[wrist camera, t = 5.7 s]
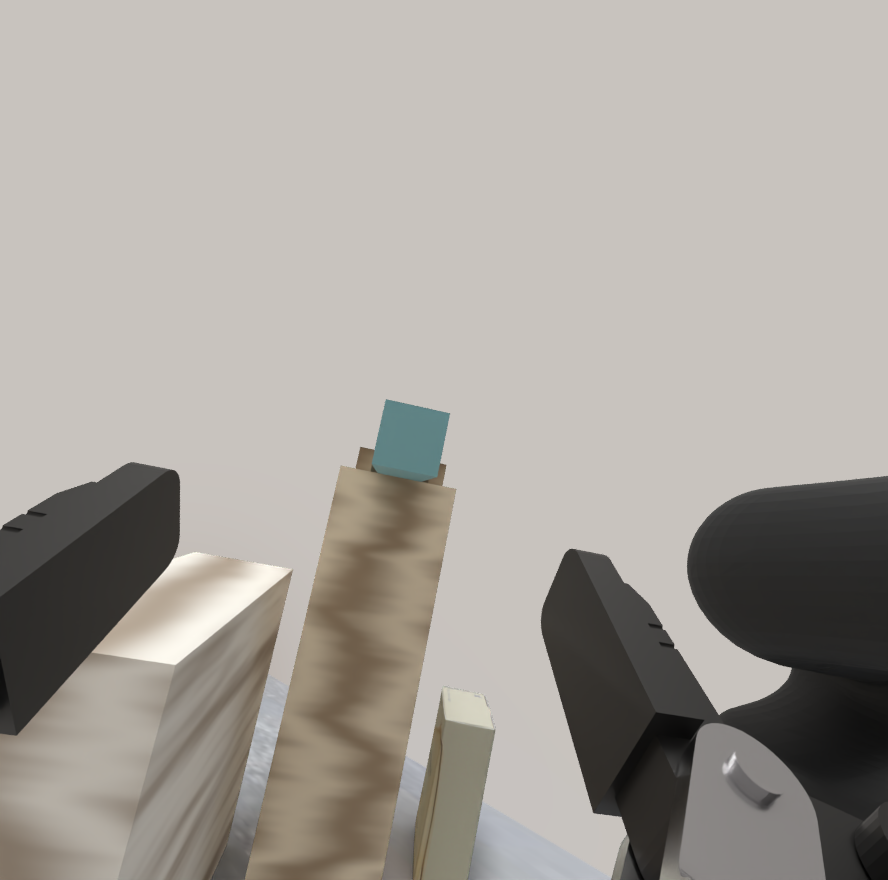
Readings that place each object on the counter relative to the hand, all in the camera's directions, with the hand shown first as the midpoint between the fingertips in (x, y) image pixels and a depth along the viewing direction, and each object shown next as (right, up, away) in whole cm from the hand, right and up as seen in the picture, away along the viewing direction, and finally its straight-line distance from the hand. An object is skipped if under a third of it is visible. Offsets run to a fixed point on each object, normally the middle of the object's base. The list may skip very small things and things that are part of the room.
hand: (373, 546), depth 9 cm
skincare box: (+1, -33, +27) cm, 42 cm away
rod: (-2, -1, +23) cm, 23 cm away
